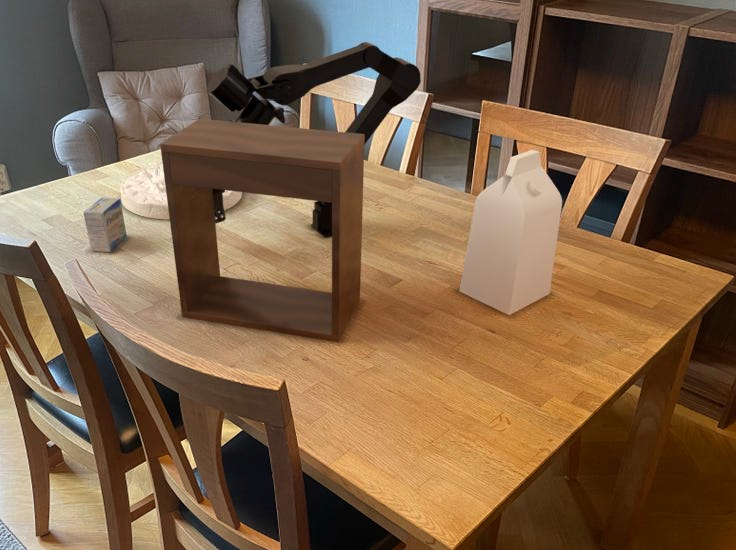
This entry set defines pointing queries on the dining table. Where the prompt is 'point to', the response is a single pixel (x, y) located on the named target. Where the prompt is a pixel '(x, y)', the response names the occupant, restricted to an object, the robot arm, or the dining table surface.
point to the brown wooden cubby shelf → (275, 178)
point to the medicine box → (105, 224)
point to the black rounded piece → (219, 207)
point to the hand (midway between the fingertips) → (200, 193)
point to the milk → (513, 237)
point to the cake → (155, 193)
